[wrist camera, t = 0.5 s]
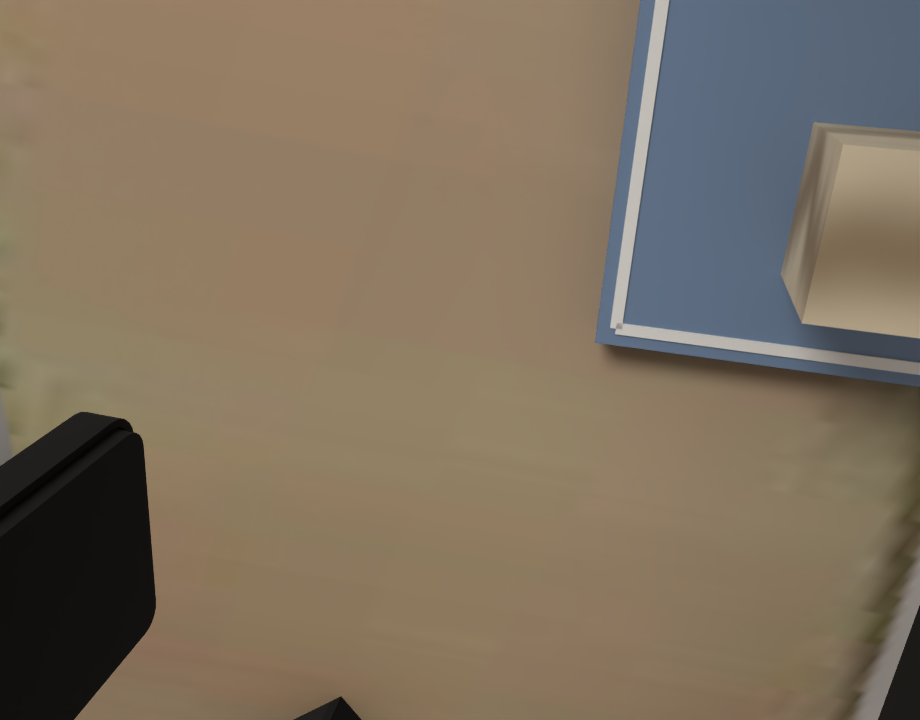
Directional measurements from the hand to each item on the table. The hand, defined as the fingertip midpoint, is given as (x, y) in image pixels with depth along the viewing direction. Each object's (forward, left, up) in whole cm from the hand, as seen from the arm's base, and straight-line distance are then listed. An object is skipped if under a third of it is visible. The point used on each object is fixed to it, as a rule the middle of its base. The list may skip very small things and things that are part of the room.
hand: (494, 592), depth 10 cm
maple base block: (0, +10, -27) cm, 29 cm away
